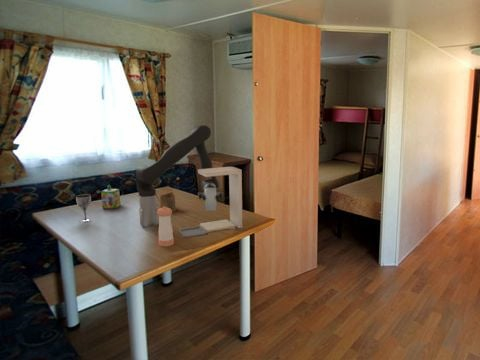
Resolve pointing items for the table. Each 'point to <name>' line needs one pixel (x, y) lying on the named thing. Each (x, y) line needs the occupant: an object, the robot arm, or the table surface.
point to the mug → (167, 201)
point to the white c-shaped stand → (235, 198)
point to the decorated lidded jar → (110, 198)
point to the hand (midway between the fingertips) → (210, 198)
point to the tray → (192, 231)
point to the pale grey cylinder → (210, 199)
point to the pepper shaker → (165, 227)
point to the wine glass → (84, 203)
